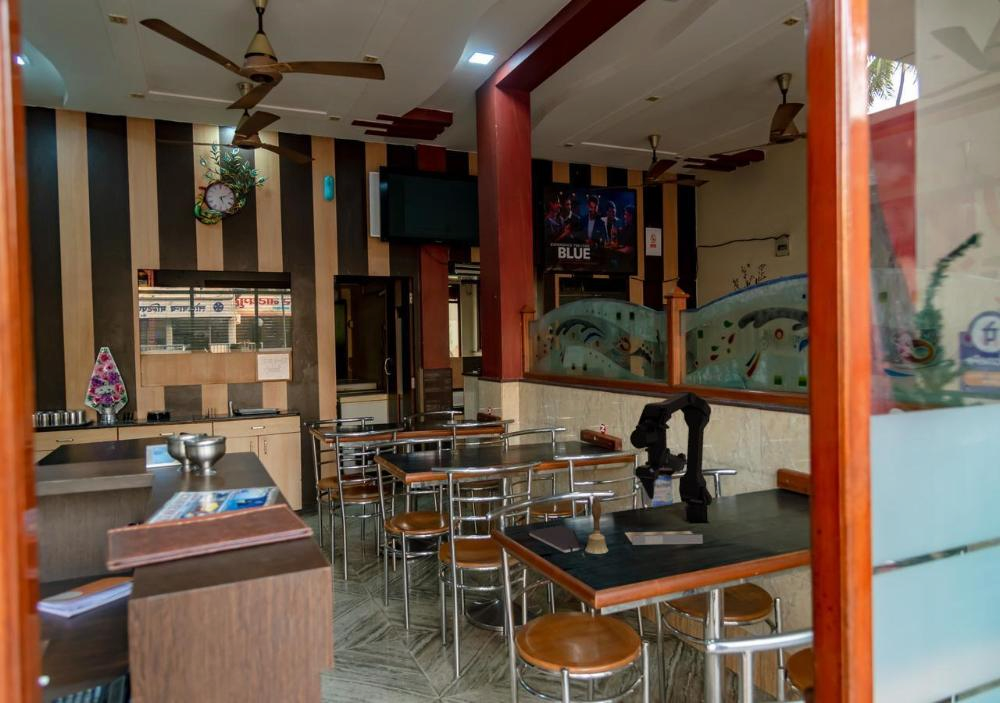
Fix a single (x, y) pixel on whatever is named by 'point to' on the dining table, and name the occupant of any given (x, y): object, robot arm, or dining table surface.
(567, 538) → the notebook
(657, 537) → the rail
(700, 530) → the dining table surface
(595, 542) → the hand bell
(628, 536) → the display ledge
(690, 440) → the robot arm
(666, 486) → the medicine box
